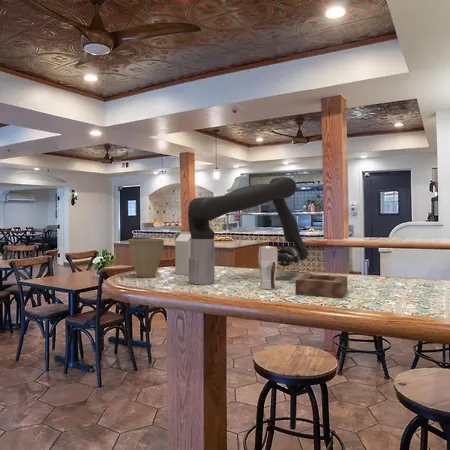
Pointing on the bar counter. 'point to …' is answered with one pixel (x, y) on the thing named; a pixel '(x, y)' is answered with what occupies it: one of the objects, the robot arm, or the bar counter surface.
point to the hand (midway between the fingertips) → (276, 260)
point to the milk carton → (182, 253)
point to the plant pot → (146, 256)
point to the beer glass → (268, 266)
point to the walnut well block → (321, 285)
